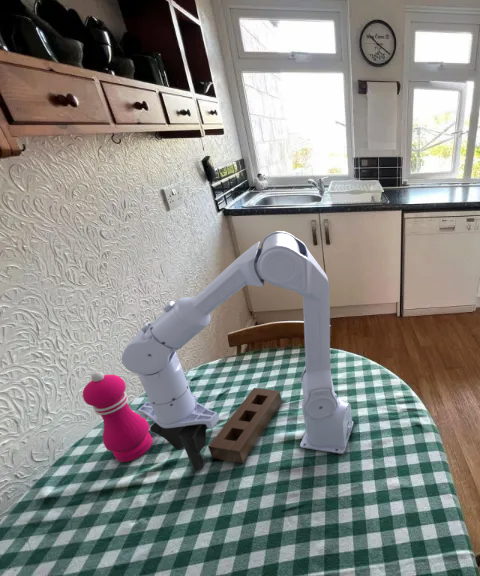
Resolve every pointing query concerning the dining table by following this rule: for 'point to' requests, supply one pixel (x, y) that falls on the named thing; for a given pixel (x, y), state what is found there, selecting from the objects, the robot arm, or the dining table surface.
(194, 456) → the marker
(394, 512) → the dining table surface
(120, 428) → the pepper mill
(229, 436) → the holder
